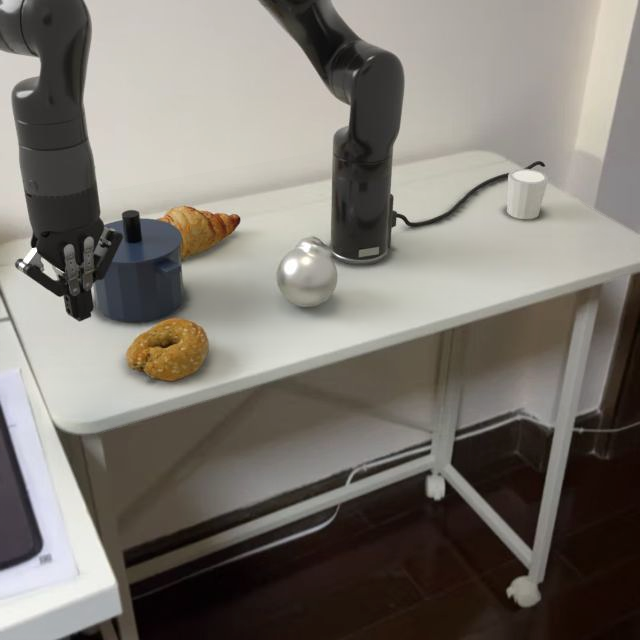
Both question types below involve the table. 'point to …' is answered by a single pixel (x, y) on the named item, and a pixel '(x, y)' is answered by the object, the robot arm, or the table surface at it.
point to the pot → (141, 290)
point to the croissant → (200, 228)
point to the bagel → (169, 349)
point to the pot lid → (144, 239)
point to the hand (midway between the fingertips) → (80, 317)
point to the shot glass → (525, 193)
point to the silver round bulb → (307, 273)
